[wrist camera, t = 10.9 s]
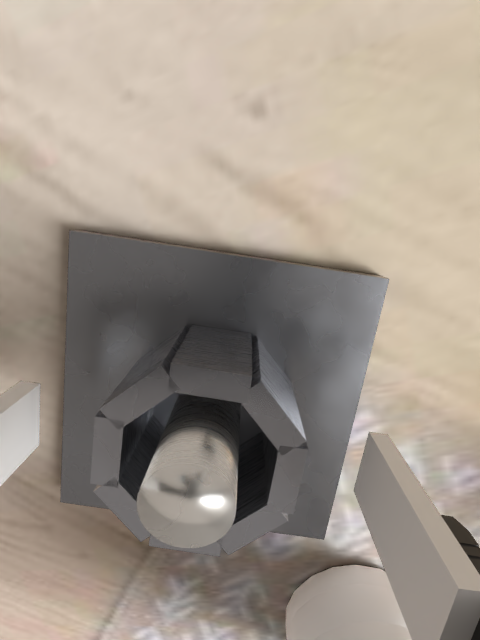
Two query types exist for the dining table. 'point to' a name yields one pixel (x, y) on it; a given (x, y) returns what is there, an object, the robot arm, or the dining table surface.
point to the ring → (212, 382)
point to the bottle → (345, 607)
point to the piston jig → (201, 412)
